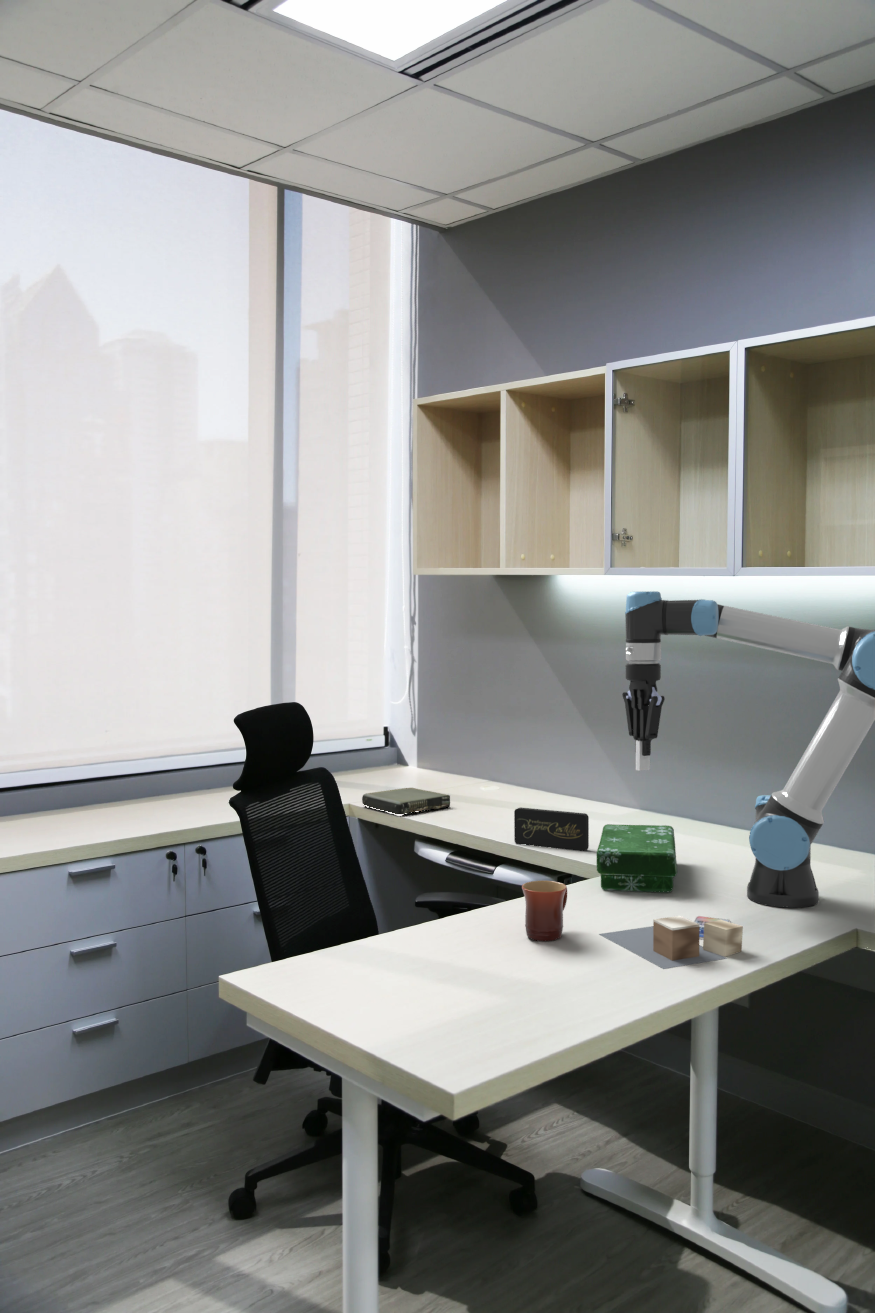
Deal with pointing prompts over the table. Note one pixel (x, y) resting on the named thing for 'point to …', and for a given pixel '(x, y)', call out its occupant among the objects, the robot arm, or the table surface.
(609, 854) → the box
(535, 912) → the mug
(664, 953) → the walnut cube
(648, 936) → the felt mat
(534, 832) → the nameplate
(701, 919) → the smartphone
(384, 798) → the network switch
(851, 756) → the robot arm
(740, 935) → the maple block
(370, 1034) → the table surface
